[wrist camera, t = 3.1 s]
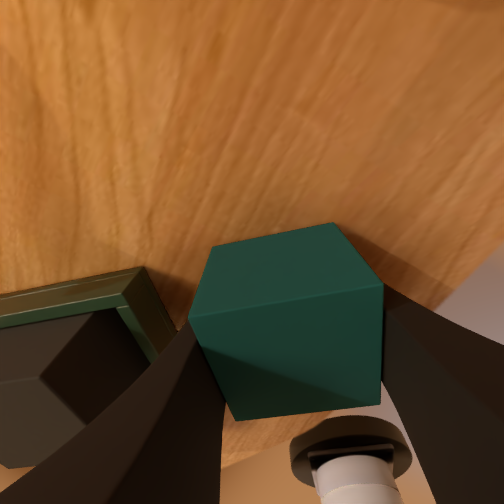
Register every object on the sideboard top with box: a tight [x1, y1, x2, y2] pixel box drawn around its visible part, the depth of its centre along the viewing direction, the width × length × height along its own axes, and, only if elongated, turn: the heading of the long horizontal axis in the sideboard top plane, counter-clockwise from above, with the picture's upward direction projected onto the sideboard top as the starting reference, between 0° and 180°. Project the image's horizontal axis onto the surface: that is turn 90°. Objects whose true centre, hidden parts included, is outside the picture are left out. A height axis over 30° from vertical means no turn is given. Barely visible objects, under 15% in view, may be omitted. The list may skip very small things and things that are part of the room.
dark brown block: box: [0, 307, 151, 469], centre depth 10 cm, size 5×5×4 cm
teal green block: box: [188, 222, 384, 421], centre depth 9 cm, size 5×5×4 cm
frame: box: [0, 266, 177, 364], centre depth 13 cm, size 12×8×2 cm
